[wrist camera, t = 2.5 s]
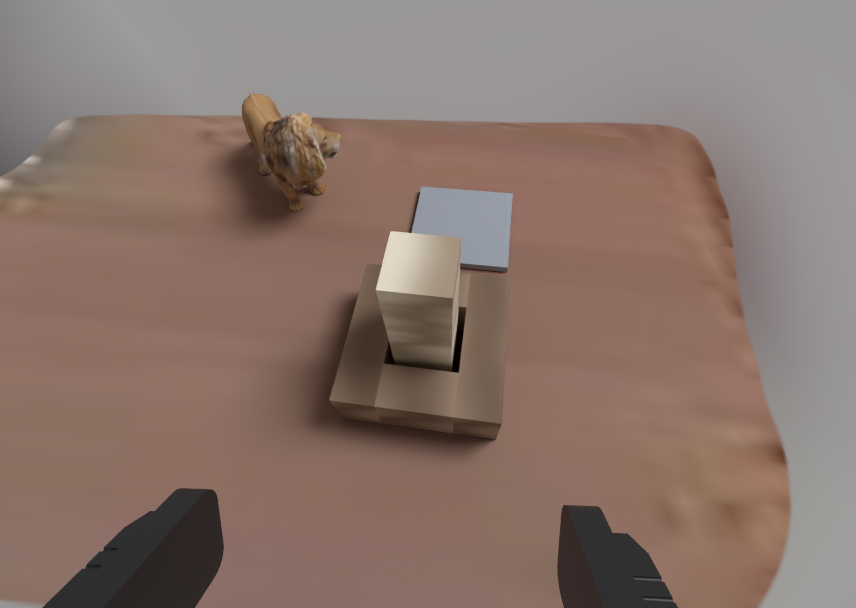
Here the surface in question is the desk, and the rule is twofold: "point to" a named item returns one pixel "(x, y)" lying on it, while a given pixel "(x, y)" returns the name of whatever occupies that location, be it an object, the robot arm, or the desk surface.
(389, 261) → the birch peg
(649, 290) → the desk surface
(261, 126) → the lion figurine
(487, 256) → the slate mat
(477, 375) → the socket block
